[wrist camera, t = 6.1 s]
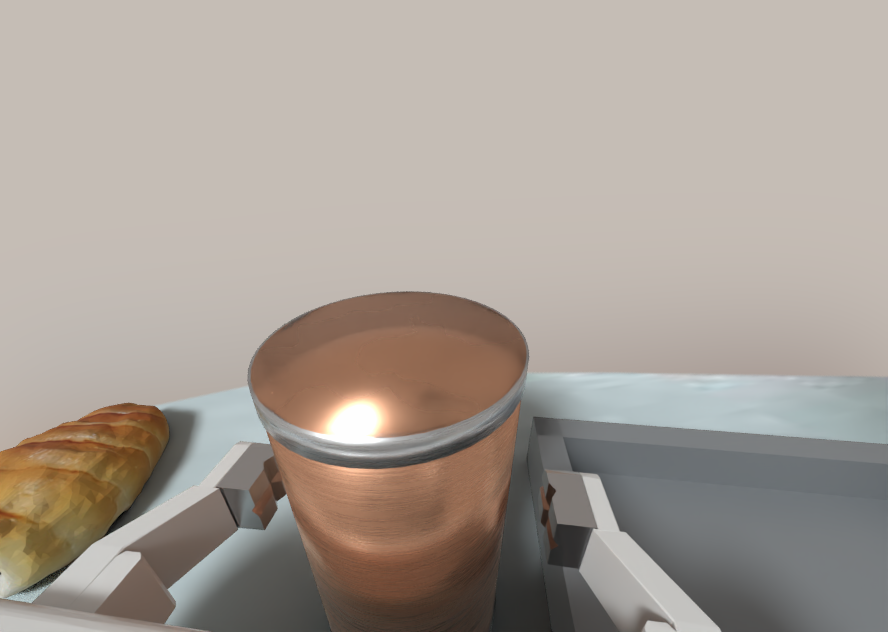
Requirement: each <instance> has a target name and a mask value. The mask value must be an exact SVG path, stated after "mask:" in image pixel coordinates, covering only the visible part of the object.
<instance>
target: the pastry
mask: <svg viewBox="0 0 888 632" xmlns="http://www.w3.org/2000/svg"><path fill="white" fill-rule="evenodd" d="M168 440H169V426H168V423H167V420H166V418H165V416H164V415H163V413H162V412H161V411H160V410H159V409H158V408H157V407H155V406H146V405H137V404H133V403H124V404H118V405H113V406H108V407H104V408H101V409H98V410H96V411H93V412H92V413H90V414H88V415H86V416H84V417H82V418H81V419H79V420H78V421H72V422H66V423H63V424H61V425H59V426H57V427H56V428H52V429H50V430H48V431H46V432H44V433H42V434H40V435H36V436H34V437H31V438H27V439H25V440H23V441H22V442H20V443H19V444H18V445H17V446H16V447H13V448H11V449H7V450H4V451H1V452H0V598H7V597H9V596H12V595H14V594H16V593H19V592H21V591H23V590H25V589H27V588H29V587H30V586H32V585H34V584H35V583H37V582H39V581H40V580H42V579H44V578H45V577H46V576H48V575H50V574H52V573H54V572H56V571H58V570H60V569H62V568H63V567H65V566H67V565H69V564H70V563H72V562H73V561H75V560H76V559H77V558H78V557H79V556H80V555H81V554H83V553H84V552H85V551H86V550H87V549H88V548H89V547H90V546H91V545H92V544H93V543H95V542H97V541H98V540H100V539H102V538H103V537H104V536H105V535H106V533H107V531H108V529H109V527H110V526H111V525H112V523H113V522H114V521H115V520H116V519H117V517H118V516H119V515H120V514H122V513H123V512H124V511H125V510H128V509H129V508H130V506H131V505H132V503H133V502H134V500H135V499H136V497H137V496H138V495H139V494H140V492H141V491H142V488H143V486H144V484H145V482H146V481H147V480H148V479H149V477H150V476H151V473H152V471H153V469H154V467H155V466H156V464H157V462H158V461H159V459H160V457H161V455H162V453H163V451H164V449H165V447H166V445H167V443H168Z"/></svg>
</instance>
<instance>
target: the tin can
mask: <svg viewBox="0 0 888 632" xmlns="http://www.w3.org/2000/svg"><path fill="white" fill-rule="evenodd" d="M528 361H529V350H528V345H527V342H526V339H525V337H524V336H523V334H522V332H521V331H520V329H519V328H518V327H517V326H516V325H515V324H514V323H513V322H512V321H511V320H509V319H508V318H507V317H506V316H504V315H503V314H501V313H500V312H498V311H496V310H494V309H492V308H490V307H488V306H486V305H483V304H481V303H478V302H476V301H472V300H469V299H465V298H461V297H457V296H452V295H447V294H440V293H431V292H407V291H406V292H387V293H377V294H369V295H363V296H357V297H353V298H348V299H344V300H340V301H337V302H333V303H330V304H327V305H324V306H321V307H318V308H316V309H314V310H311V311H309V312H306V313H304V314H302V315H300V316H298V317H296V318H294V319H293V320H291V321H289V322H288V323H286V324H284V325H283V326H282V327H280V328H279V329H277V330H276V331H275V332H273V333H272V334H271V335H270V336H269V337H268V338H267V339H266V340H265V341H264V342H263V343H262V344H261V345H260V347H259V348H258V349H257V351H256V352H255V354H254V356H253V357H252V359H251V362H250V365H249V368H248V385H249V389H250V393H251V396H252V399H253V402H254V405H255V408H256V411H257V414H258V417H259V419H260V421H261V422H262V424H263V426H264V428H265V429H266V431H267V434H268V438H269V441H270V444H271V447H272V450H273V453H274V456H275V459H276V462H277V465H278V468H279V471H280V474H281V477H282V480H283V484H284V487H285V490H286V493H287V496H288V499H289V502H290V505H291V508H292V511H293V514H294V517H295V520H296V523H297V526H298V530H299V533H300V536H301V539H302V542H303V545H304V548H305V551H306V554H307V557H308V560H309V563H310V566H311V569H312V572H313V576H314V579H315V582H316V585H317V588H318V591H319V594H320V597H321V600H322V603H323V606H324V609H325V612H326V615H327V618H328V622H329V625H330V629H331V632H491V628H492V624H493V617H494V610H495V600H496V584H497V576H498V569H499V561H500V554H501V546H502V539H503V531H504V524H505V516H506V509H507V501H508V494H509V486H510V478H511V471H512V463H513V456H514V448H515V441H516V433H517V426H518V418H519V411H520V403H521V398H522V395H523V393H524V390H525V383H526V376H527V368H528Z"/></svg>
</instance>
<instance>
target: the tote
mask: <svg viewBox="0 0 888 632" xmlns="http://www.w3.org/2000/svg"><path fill="white" fill-rule="evenodd" d="M527 464H528V470H529V477H530V484H531V491H532V498H533V505H534V512H535V519H536V525H537V532H538V539H539V546H540V553H541V560H542V567H543V574H544V580H545V587H546V594H547V601H548V608H549V615H550V622H551V629H552V632H620V631H619V630H618V628H617V627H616V625H615V624H614V622H613V621H612V619H611V618H610V616H609V615H608V613H607V612H606V610H605V609H604V607H603V606H602V604H601V603H600V601H599V600H598V598H597V597H596V596H595V594H594V593H593V591H592V590H591V588H590V587H589V585H588V584H587V582H586V581H585V579H584V578H583V576H582V575H581V573H580V572H579V569H576V568H569V567H562V566H556V565H549V564H547V559H546V553H545V547H544V541H543V536H544V532H545V527H544V526H543V525H542V524H541V522H540V516H539V506H538V503H539V490H540V487H542V486H543V482H542V474H543V471H544V470H545V469H546V470H558V471H571V472H578V473H590V474H597V475H598V476H599V477H600V479H601V482H602V484H603V487H604V490H605V492H606V495H607V498H608V500H609V503H610V506H611V508H612V511H613V514H614V516H615V519H616V522H617V524H618V527H619V530H620V531H621V532H626V533H627V534H628V535H629V536H630V537H631V538H632V539H633V540H634V541H635V542H636V543H637V544H638V545H639V546H640V547H641V548H642V549H643V550H644V551H645V552H646V553H647V554H648V555H649V556H650V557H651V558H652V560H653V561H654V562H655V563H656V564H657V565H658V566H659V567H660V568H661V569H662V570H663V571H664V572H665V573H666V574H667V575H668V576H669V577H670V578H671V579H672V580H673V581H674V582H675V583H676V584H677V585H678V586H679V587H680V588H681V589H682V590H683V591H684V592H685V593H686V594H687V595H688V596H689V598H690V599H691V600H692V601H693V602H694V603H695V604H696V605H697V606H698V607H699V608H700V609H701V610H702V611H703V612H704V613H705V614H706V615H707V616H708V617H709V618H710V619H711V620H712V621H713V622H714V623H715V624H716V625H717V626H718V627H719V628H720V630H721V632H888V444H876V443H863V442H851V441H838V440H825V439H812V438H799V437H786V436H773V435H760V434H748V433H735V432H722V431H709V430H696V429H683V428H670V427H657V426H644V425H632V424H619V423H606V422H593V421H580V420H567V419H554V418H541V417H533V422H532V429H531V435H530V441H529V447H528V454H527Z"/></svg>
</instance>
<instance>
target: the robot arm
mask: <svg viewBox="0 0 888 632" xmlns="http://www.w3.org/2000/svg"><path fill="white" fill-rule="evenodd" d="M542 482H543V486H542V487H540V490H539V503H538V506H539V516H540V522H541V524H542V525H543V526H544V527H545V532H544V536H543V541H544V547H545V553H546V559H547V564H549V565H556V566H562V567H569V568H576V569H579V572H580V573H581V575H582V576H583V578H584V579H585V581H586V582H587V584H588V585H589V587H590V588H591V590H592V591H593V593H594V594H595V596H596V597H597V598H598V600H599V601H600V603H601V604H602V606H603V607H604V609H605V610H606V612H607V613H608V615H609V616H610V618H611V619H612V621H613V622H614V624H615V625H616V627H617V628H618V630H619V631H620V632H721V630H720V628H719V627H718V626H717V625H716V624H715V623H714V622H713V621H712V620H711V619H710V618H709V617H708V616H707V615H706V614H705V613H704V612H703V611H702V610H701V609H700V608H699V607H698V606H697V605H696V604H695V603H694V602H693V601H692V600H691V599H690V598H689V596H688V595H687V594H686V593H685V592H684V591H683V590H682V589H681V588H680V587H679V586H678V585H677V584H676V583H675V582H674V581H673V580H672V579H671V578H670V577H669V576H668V575H667V574H666V573H665V572H664V571H663V570H662V569H661V568H660V567H659V566H658V565H657V564H656V563H655V562H654V561H653V560H652V558H651V557H650V556H649V555H648V554H647V553H646V552H645V551H644V550H643V549H642V548H641V547H640V546H639V545H638V544H637V543H636V542H635V541H634V540H633V539H632V538H631V537H630V536H629V535H628V534H627V533H626V532H621V531H620V530H619V527H618V524H617V522H616V519H615V516H614V514H613V511H612V508H611V506H610V503H609V500H608V498H607V495H606V492H605V490H604V487H603V484H602V482H601V479H600V477H599V476H598V475H597V474H590V473H578V472H571V471H558V470H546V469H545V470H544V471H543V474H542ZM286 494H287V493H286V490H285V487H284V484H283V480H282V477H281V474H280V471H279V468H278V465H277V462H276V459H275V456H274V453H273V450H272V447H271V445H270V444H262V443H253V442H243V441H240V442H238V443H237V444H235V445H234V446H233V447H232V448H231V449H230V451H229V452H228V453H227V454H226V455H225V456H224V457H223V458H222V460H221V461H220V462H219V463H218V464H217V465H216V466H215V467H214V469H213V470H212V471H211V472H210V473H209V474H208V475H207V477H206V478H205V479H204V480H203V481H202V482H201V483H200V484H199V486H192V487H190V488H189V489H187V490H185V491H183V492H182V493H180V494H178V495H176V496H175V497H173V498H171V499H169V500H168V501H166V502H164V503H163V504H161V505H159V506H157V507H156V508H154V509H152V510H150V511H149V512H147V513H145V514H143V515H142V516H140V517H138V518H137V519H135V520H133V521H131V522H130V523H128V524H126V525H124V526H123V527H121V528H119V529H118V530H116V531H114V532H112V533H111V534H109V535H107V536H105V537H104V538H102V539H100V540H98V541H97V542H95V543H93V544H92V545H91V546H90V547H89V548H88V549H87V550H86V551H85V552H84V553H83V554H81V555H80V556H79V557H78V558H77V559H76V560H75V561H74V562H73V563H72V564H71V565H70V566H69V567H68V568H67V569H66V570H65V571H64V572H63V573H62V574H61V575H60V576H59V577H58V578H57V579H56V580H55V581H54V582H53V583H52V584H51V585H50V586H49V587H48V588H47V589H46V590H45V591H44V592H43V593H42V594H41V595H39V596H38V597H37V598H36V599H35V600H34V601H33V602H32V603H26V602H20V601H14V600H7V599H1V598H0V632H211V631H205V630H198V629H192V628H186V627H179V626H173V625H166V624H165V622H166V621H167V619H168V618H169V616H170V615H171V613H172V612H173V610H174V609H175V607H176V601H175V599H174V598H173V597H172V595H171V594H170V593H169V591H168V590H167V589H168V588H170V587H171V586H172V585H173V584H174V583H175V582H177V581H178V580H179V579H180V578H181V577H183V576H184V575H185V574H186V573H187V572H188V571H190V570H191V569H192V568H193V567H194V566H196V565H197V564H198V563H199V562H200V561H202V560H203V559H204V558H205V557H206V556H207V555H209V554H210V553H211V552H212V551H213V550H215V549H216V548H217V547H218V546H219V545H220V544H222V543H223V542H224V541H225V540H226V539H228V538H229V537H230V536H231V535H232V534H233V533H235V532H236V531H237V530H238V528H246V529H257V530H265V529H266V527H267V526H268V524H269V522H270V521H271V519H272V517H273V516H274V514H275V512H276V511H277V509H278V506H277V501H278V500H279V499H281V498H282V497H283V496H285V495H286Z"/></svg>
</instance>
